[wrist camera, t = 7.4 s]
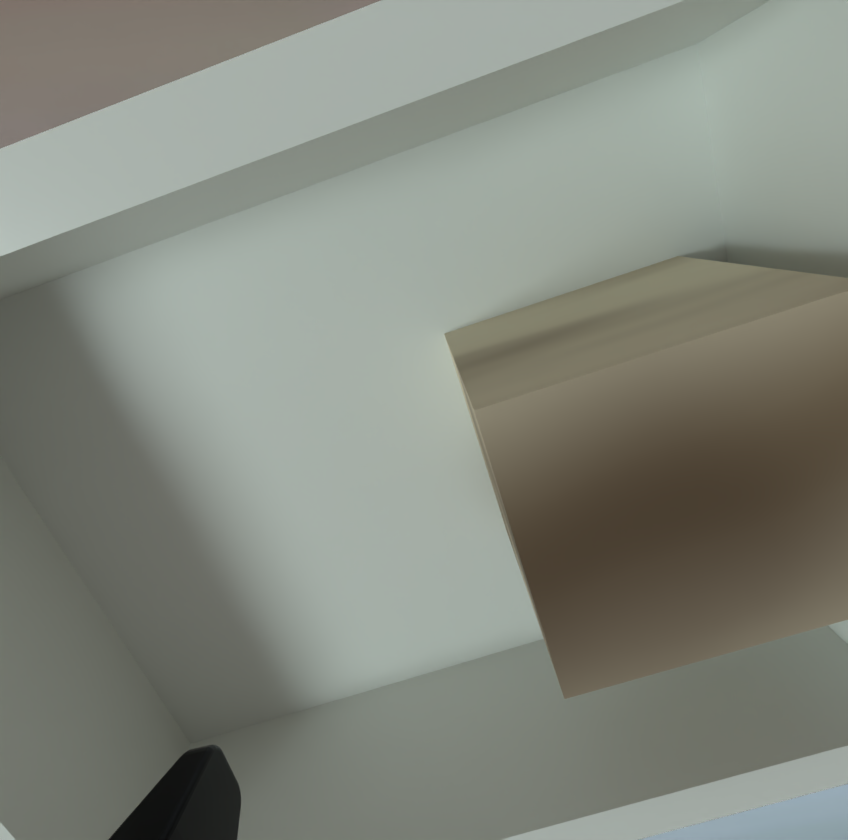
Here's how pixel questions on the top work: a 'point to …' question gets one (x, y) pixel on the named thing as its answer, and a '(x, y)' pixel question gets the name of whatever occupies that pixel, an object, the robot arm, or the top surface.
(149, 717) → the tote
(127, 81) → the top surface
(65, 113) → the top surface
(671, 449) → the beige rectangular block
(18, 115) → the top surface
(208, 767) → the robot arm
